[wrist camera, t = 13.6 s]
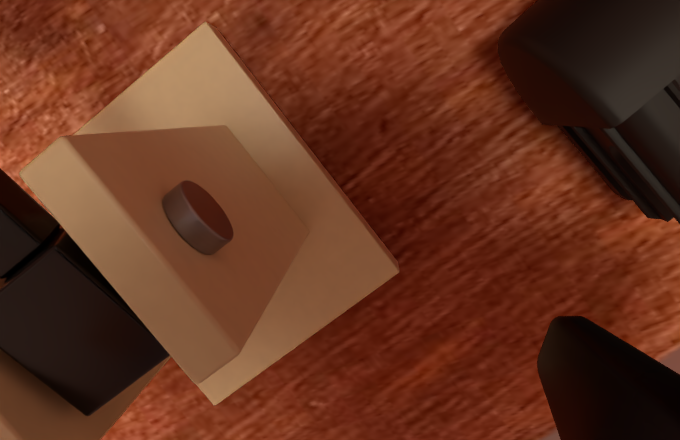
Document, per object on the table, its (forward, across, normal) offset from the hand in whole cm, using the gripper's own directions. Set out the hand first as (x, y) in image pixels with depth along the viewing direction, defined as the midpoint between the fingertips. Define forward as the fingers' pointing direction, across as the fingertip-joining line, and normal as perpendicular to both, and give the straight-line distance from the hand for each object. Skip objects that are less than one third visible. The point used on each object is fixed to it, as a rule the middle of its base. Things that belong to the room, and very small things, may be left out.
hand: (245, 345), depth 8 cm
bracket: (+12, 0, +5) cm, 13 cm away
